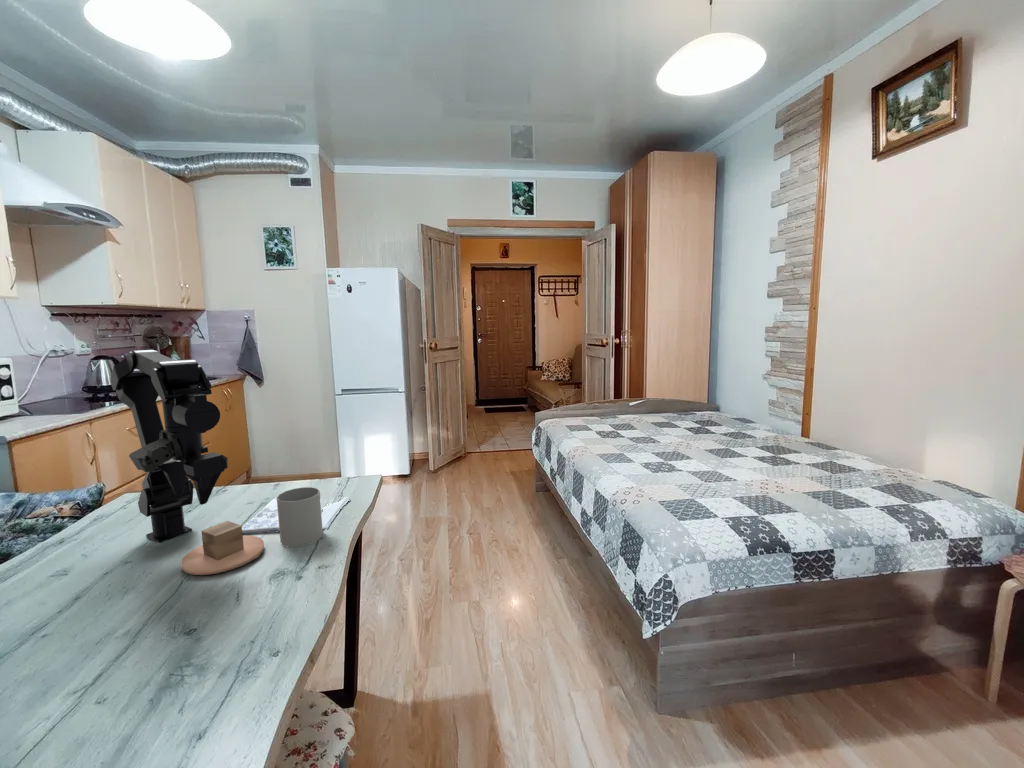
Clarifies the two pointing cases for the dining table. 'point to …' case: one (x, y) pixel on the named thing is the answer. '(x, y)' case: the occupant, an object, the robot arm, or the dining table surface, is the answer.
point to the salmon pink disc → (206, 565)
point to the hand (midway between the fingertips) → (190, 499)
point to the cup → (299, 516)
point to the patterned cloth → (270, 522)
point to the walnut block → (222, 540)
